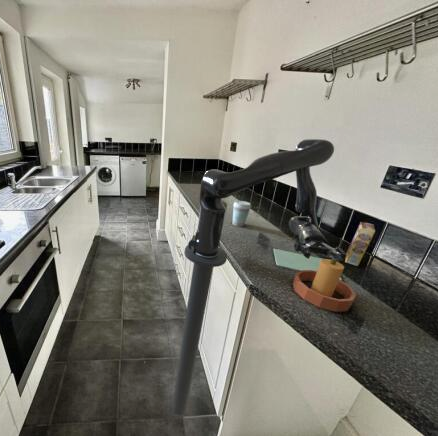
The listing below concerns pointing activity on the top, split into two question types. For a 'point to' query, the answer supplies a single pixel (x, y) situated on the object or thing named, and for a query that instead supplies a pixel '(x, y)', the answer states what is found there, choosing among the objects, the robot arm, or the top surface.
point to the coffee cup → (240, 212)
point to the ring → (320, 299)
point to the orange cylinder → (327, 277)
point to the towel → (296, 261)
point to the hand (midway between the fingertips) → (324, 259)
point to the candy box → (360, 243)
